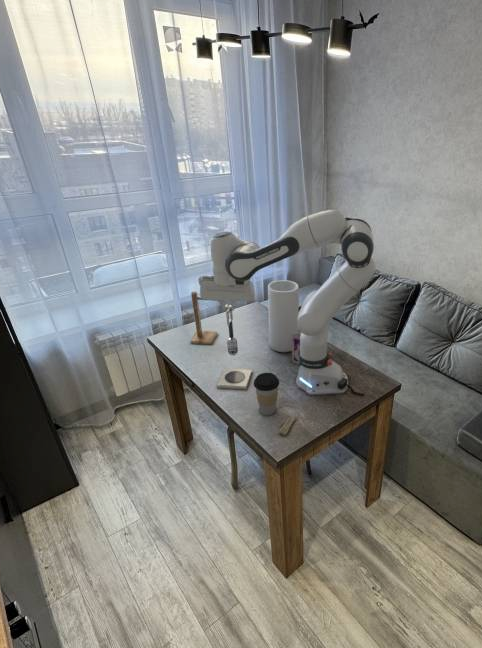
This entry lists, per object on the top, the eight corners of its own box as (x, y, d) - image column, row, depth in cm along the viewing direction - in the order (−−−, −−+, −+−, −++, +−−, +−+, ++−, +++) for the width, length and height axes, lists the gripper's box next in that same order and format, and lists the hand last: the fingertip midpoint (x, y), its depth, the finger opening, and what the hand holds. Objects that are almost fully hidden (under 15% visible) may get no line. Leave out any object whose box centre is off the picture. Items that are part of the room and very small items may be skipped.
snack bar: (286, 434, 142) (278, 430, 142) (284, 437, 143) (277, 433, 143) (296, 417, 149) (289, 413, 150) (295, 420, 150) (288, 416, 151)
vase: (263, 347, 193) (260, 287, 177) (281, 335, 203) (280, 277, 187) (287, 356, 187) (286, 295, 170) (304, 343, 197) (305, 284, 181)
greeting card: (291, 363, 182) (291, 335, 174) (298, 355, 188) (298, 327, 180) (313, 369, 178) (314, 341, 170) (320, 361, 184) (321, 333, 176)
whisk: (239, 351, 167) (235, 305, 156) (236, 358, 162) (232, 311, 151) (230, 350, 167) (225, 304, 156) (226, 357, 162) (221, 311, 151)
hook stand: (227, 334, 201) (222, 289, 189) (221, 345, 193) (216, 298, 180) (197, 333, 202) (191, 287, 189) (191, 343, 193) (183, 296, 180)
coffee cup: (275, 420, 149) (274, 388, 141) (251, 416, 150) (249, 384, 143) (283, 404, 157) (282, 373, 149) (260, 400, 158) (258, 369, 151)
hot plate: (251, 372, 174) (251, 369, 174) (246, 389, 164) (245, 386, 163) (224, 370, 175) (224, 367, 174) (217, 387, 164) (216, 384, 163)
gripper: (195, 278, 144) (199, 312, 151) (251, 281, 144) (253, 315, 151) (200, 271, 149) (204, 305, 157) (254, 274, 149) (256, 307, 156)
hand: (229, 310), depth 154 cm, fingers closed on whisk
